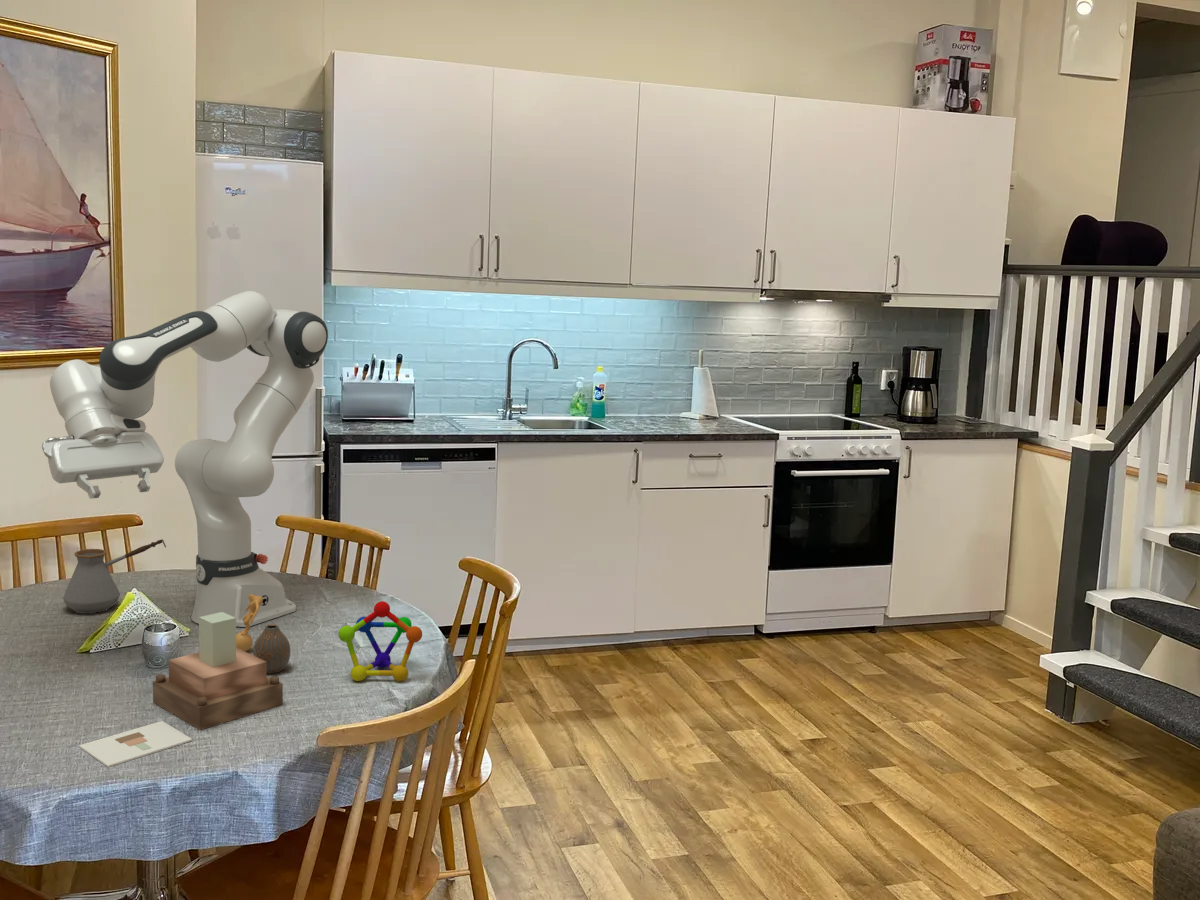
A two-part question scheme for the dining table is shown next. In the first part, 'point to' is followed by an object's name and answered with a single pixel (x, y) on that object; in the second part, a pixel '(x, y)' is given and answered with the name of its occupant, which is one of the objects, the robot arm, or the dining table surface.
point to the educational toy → (382, 657)
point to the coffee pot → (95, 581)
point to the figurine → (243, 638)
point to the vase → (272, 649)
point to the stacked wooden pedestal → (216, 689)
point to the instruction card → (135, 743)
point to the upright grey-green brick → (217, 639)
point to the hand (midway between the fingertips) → (121, 493)
